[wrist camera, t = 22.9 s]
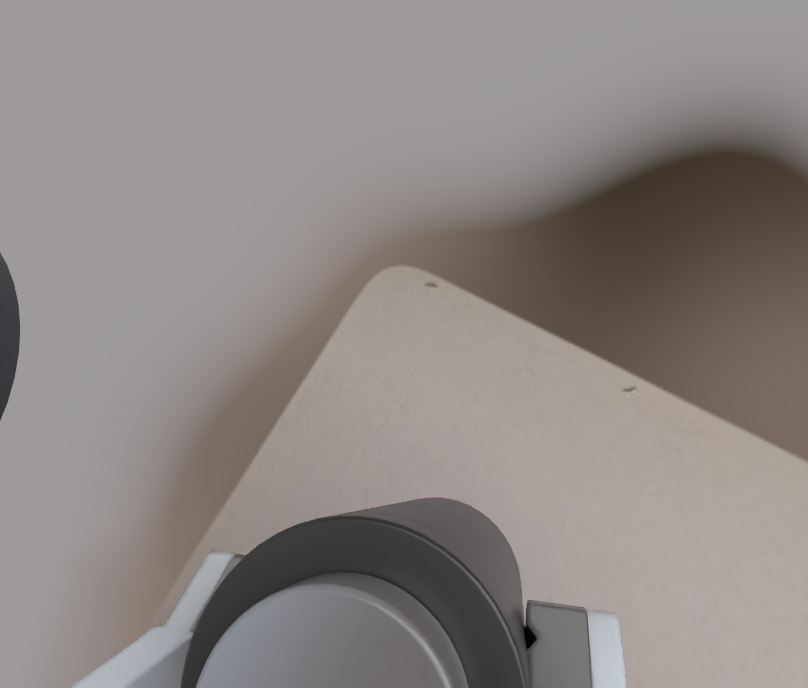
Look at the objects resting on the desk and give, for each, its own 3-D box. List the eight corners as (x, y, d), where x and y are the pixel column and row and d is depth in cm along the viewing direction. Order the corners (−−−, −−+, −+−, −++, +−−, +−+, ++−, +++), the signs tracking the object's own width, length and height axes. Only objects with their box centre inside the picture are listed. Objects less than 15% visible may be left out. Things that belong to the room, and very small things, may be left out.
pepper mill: (350, 663, 16) (93, 953, 6) (363, 492, 17) (161, 507, 7) (520, 685, 15) (534, 1068, 5) (522, 503, 16) (539, 536, 6)
